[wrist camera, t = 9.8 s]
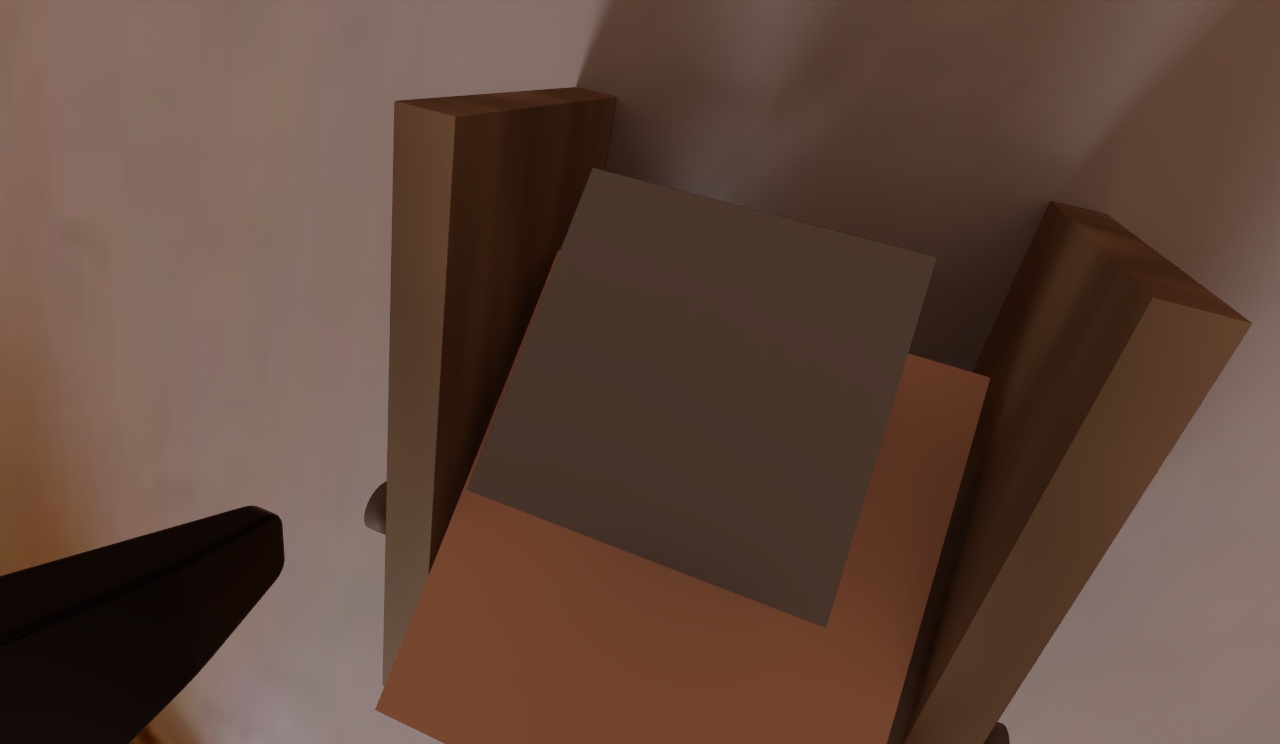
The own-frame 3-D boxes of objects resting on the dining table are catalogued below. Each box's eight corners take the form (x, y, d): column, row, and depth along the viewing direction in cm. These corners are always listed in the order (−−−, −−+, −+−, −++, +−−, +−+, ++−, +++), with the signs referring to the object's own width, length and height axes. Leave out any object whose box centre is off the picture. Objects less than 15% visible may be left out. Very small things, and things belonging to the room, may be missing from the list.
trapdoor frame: (1135, 221, 16) (1304, 336, 9) (900, 675, 22) (898, 928, 16) (554, 82, 19) (364, 93, 12) (502, 517, 26) (363, 675, 19)
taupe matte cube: (795, 588, 14) (825, 628, 9) (573, 504, 15) (466, 490, 10) (865, 361, 15) (937, 257, 9) (649, 297, 16) (592, 167, 10)
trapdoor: (929, 416, 20) (990, 377, 15) (810, 818, 18) (833, 931, 13) (602, 314, 22) (558, 250, 17) (468, 664, 20) (375, 709, 15)
